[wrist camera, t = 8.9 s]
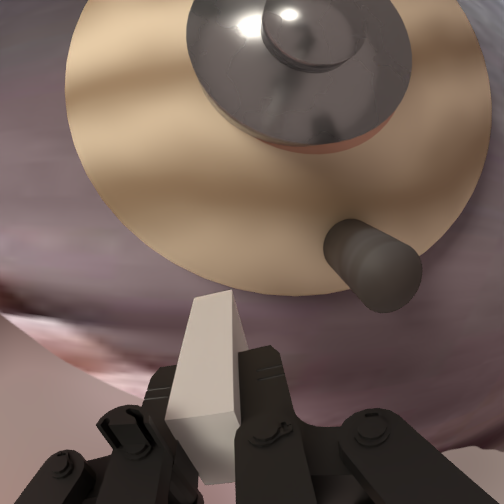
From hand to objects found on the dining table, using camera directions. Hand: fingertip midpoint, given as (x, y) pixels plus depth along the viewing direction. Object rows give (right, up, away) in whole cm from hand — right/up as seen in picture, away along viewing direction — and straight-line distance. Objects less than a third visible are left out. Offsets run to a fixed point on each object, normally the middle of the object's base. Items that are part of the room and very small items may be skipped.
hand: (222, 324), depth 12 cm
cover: (+3, +13, +1) cm, 13 cm away
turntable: (+4, +14, +3) cm, 14 cm away
